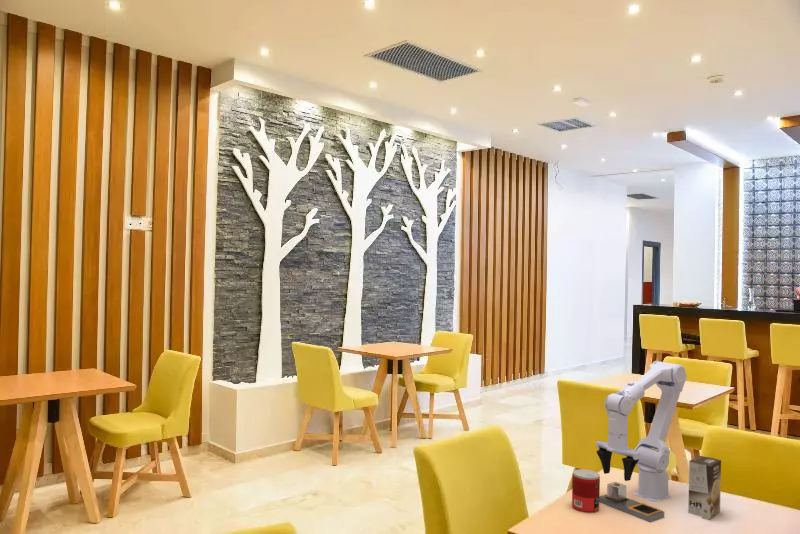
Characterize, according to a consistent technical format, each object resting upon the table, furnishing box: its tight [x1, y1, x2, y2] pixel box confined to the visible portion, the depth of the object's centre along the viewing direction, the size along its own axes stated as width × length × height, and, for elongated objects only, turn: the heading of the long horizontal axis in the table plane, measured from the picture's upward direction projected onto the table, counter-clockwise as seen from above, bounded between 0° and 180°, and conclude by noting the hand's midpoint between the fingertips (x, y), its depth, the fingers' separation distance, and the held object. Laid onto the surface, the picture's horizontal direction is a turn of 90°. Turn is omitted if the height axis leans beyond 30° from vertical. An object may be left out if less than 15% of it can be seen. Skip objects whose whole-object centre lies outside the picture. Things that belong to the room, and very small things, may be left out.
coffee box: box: [687, 455, 722, 520], centre depth 186 cm, size 9×6×16 cm
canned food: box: [571, 468, 601, 514], centre depth 187 cm, size 8×8×11 cm
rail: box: [599, 494, 665, 523], centre depth 186 cm, size 7×18×2 cm, turn 34°
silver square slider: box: [606, 481, 627, 503], centre depth 191 cm, size 4×4×6 cm
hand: (616, 476), depth 191 cm, fingers open, 7 cm apart
